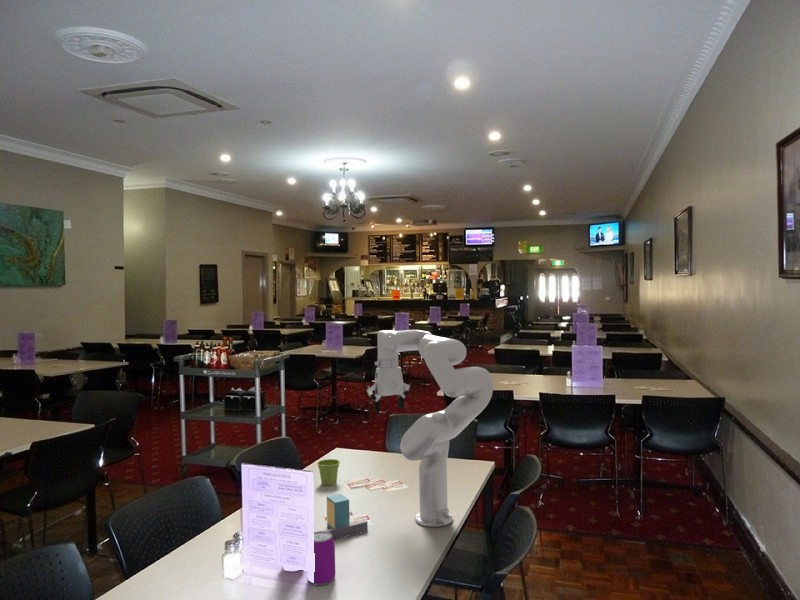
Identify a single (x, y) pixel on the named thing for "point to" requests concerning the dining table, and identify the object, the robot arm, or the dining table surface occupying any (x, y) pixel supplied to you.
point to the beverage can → (324, 557)
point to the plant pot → (328, 471)
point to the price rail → (348, 529)
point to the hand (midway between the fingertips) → (389, 410)
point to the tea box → (337, 511)
